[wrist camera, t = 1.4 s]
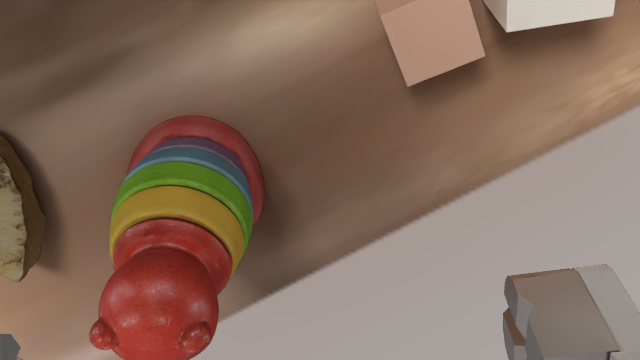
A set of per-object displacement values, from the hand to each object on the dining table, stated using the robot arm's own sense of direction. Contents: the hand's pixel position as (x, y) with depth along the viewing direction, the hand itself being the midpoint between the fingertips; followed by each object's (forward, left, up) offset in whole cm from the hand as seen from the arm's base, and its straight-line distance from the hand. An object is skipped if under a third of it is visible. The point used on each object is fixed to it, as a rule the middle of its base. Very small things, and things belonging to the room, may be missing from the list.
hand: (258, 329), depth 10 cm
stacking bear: (+17, -11, -32) cm, 38 cm away
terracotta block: (+7, +7, -32) cm, 33 cm away
